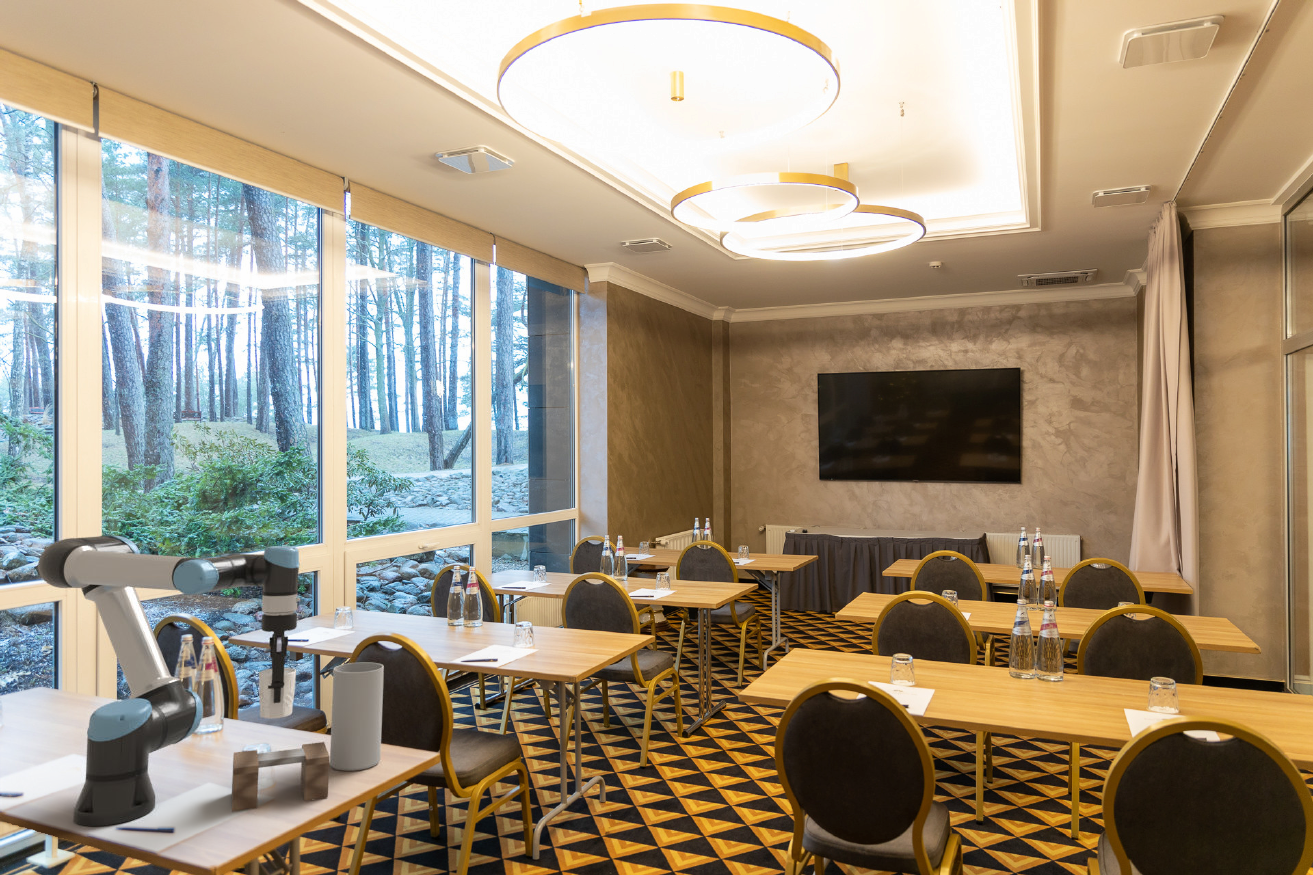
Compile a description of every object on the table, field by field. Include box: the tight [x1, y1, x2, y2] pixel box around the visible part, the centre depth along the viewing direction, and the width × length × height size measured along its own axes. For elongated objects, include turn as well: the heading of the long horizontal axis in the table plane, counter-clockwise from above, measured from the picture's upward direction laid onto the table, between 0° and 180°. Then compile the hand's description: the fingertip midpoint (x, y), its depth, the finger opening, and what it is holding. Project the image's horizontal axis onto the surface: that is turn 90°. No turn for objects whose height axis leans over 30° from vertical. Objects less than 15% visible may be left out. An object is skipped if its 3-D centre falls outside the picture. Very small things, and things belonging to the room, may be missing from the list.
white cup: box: [258, 667, 297, 720], centre depth 193 cm, size 8×8×10 cm
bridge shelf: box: [231, 741, 330, 813], centre depth 195 cm, size 20×12×10 cm, turn 117°
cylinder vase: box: [329, 661, 385, 772], centre depth 219 cm, size 12×12×25 cm
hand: (276, 711), depth 193 cm, fingers closed on white cup, 8 cm apart
